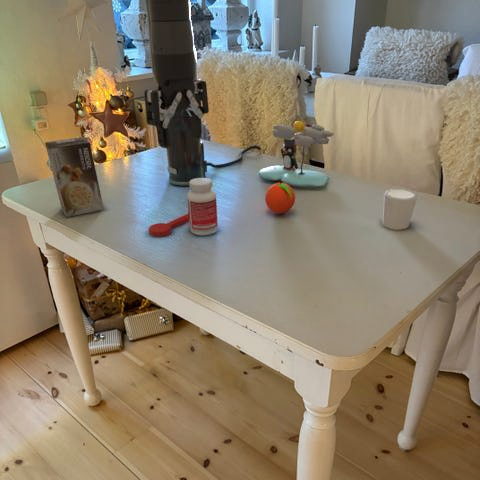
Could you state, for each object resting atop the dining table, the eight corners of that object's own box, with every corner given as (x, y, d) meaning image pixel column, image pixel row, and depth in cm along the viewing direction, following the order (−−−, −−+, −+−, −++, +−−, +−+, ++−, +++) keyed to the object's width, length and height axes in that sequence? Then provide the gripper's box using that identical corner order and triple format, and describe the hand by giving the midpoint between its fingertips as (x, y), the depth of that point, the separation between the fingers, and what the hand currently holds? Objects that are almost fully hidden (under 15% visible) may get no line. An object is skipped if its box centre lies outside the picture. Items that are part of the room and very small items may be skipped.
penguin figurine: (252, 179, 134) (252, 121, 126) (274, 169, 141) (275, 113, 133) (315, 194, 124) (320, 132, 116) (336, 182, 131) (341, 123, 123)
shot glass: (412, 220, 110) (418, 189, 106) (410, 232, 105) (416, 201, 101) (381, 216, 112) (385, 186, 108) (378, 228, 107) (382, 197, 103)
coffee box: (97, 201, 123) (85, 135, 114) (104, 210, 119) (91, 142, 109) (60, 209, 120) (44, 141, 111) (65, 218, 115) (49, 148, 106)
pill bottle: (223, 231, 107) (221, 182, 101) (198, 238, 104) (194, 188, 98) (208, 222, 111) (205, 174, 105) (185, 229, 109) (180, 180, 102)
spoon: (197, 209, 118) (197, 204, 117) (212, 214, 115) (212, 209, 115) (144, 233, 107) (144, 228, 107) (159, 239, 105) (159, 233, 104)
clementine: (303, 215, 114) (304, 185, 110) (278, 222, 111) (279, 191, 107) (283, 204, 119) (284, 175, 115) (259, 210, 116) (259, 181, 112)
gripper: (157, 55, 81) (167, 154, 91) (215, 46, 90) (219, 137, 99) (128, 52, 85) (141, 147, 95) (186, 44, 94) (192, 132, 103)
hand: (181, 142), depth 97 cm, fingers open, 8 cm apart
